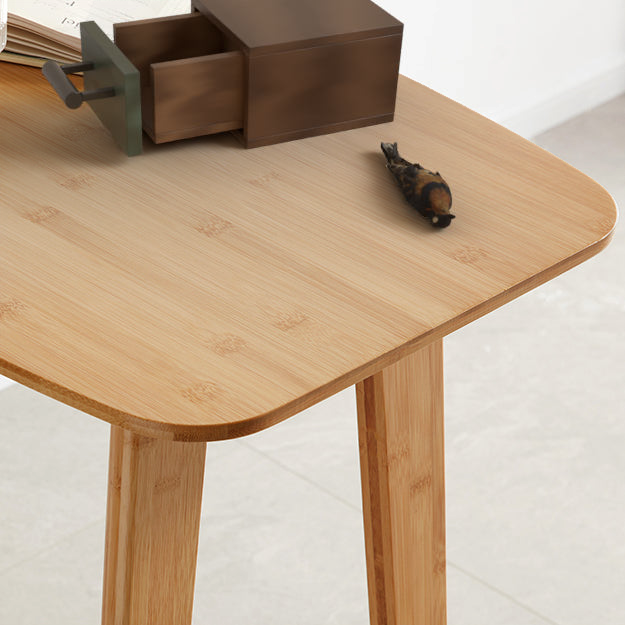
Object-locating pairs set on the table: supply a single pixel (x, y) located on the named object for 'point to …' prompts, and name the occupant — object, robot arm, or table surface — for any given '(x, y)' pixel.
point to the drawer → (157, 79)
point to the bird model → (420, 187)
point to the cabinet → (311, 64)
